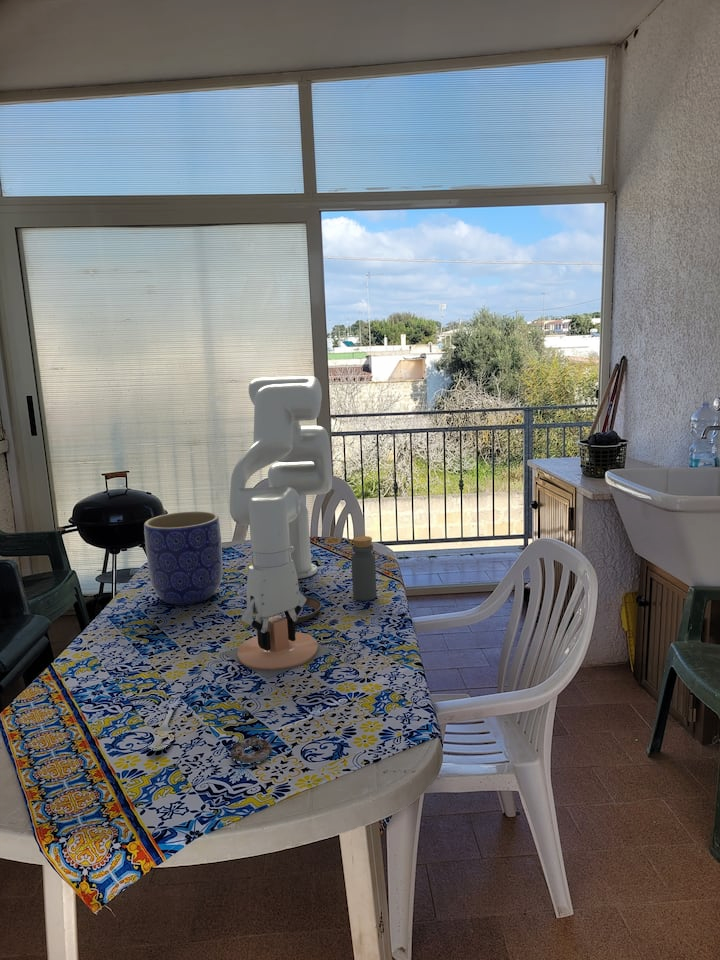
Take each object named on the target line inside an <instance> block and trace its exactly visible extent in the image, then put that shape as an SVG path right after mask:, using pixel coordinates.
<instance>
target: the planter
mask: <svg viewBox="0 0 720 960" xmlns="http://www.w3.org/2000/svg"><path fill="white" fill-rule="evenodd" d="M143 529H144V530H143V534H144V541H145V543H144V544H145V552H146V560H147V568H148V573H149V579H150V584H151V586H152V589H153V591H154V592H155V594H156V595H157V597H159V598H160V600H162V601H163V602H165V603H166V604H170V605H173V604H175V606H187V605H188V604H189V605H194V603H195V604H199V603H202V602H205V601H207V600H208V599H210V598H212V597H213V596H214V595H215V594H216V592H217V591H218V590H219V587H220V585H221V582H222V579H223V551H222V550H223V548H222V546H223V545H222V536H221V535H222V534H221V523H220V517H219V515H218V514H216V513H214V512H212V511H211V512H210V511H201V510H198V511H197V510H194V511H193V510H192V511H179V512H172V513H168V514H167V513H166V514H161V515H158V516H155V517H151V518H150V519H147V520H146V521H145V522H144V524H143Z"/></svg>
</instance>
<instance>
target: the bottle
mask: <svg viewBox="0 0 720 960" xmlns="http://www.w3.org/2000/svg"><path fill="white" fill-rule="evenodd" d="M372 540H373V538H372V536H367V535H359V536H356V537H353V538H352V542H353V545H352V548H351V549H352V551H353V552H354V553H353V554H352V555H351V556H350V557H351V562H350V563H351V577H352V580H351V581H352V595H353V596H352V597H353V599H354V600H357V601H362V602H367V601H372V600H375V599H376V598H377V596H378V595H377V575H376V574H377V570H376V569H377V568H376V556H375V554H374V553H373V552H372V551H373V550H374V545H373V543H372Z"/></svg>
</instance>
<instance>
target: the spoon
mask: <svg viewBox="0 0 720 960" xmlns="http://www.w3.org/2000/svg"><path fill="white" fill-rule="evenodd" d="M172 715H173V714H172V712H168V714H167V713H166V716H165V719H164V721H162V722H163V723H162V724H161V725H160V726H159V727H158V729H157V730H156V731H172V729H170V727H169V721H170V719H171V717H172ZM172 732H173V731H172ZM167 746H168V745H167ZM167 746H165V747H162V748H158V749H152V748H150V749H151V750H150V751H152V750H153V752H156V751H161V750H164V748H165V749H166V747H167ZM168 747H169V746H168ZM168 747H167V748H168Z"/></svg>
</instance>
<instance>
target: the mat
mask: <svg viewBox="0 0 720 960" xmlns="http://www.w3.org/2000/svg"><path fill="white" fill-rule="evenodd" d="M317 644H318V651H317V653H316V655H315V656H314V657H313V658H312V659H310V660H309V661H307V662H305V663H303V664H301V665H304V664H306V663H309V662H311V661H314V660H316V659H318V658H320V657H323V656H325V655H327V654H330V653H332V652H335V650H333V649H331V648H329V647H327V646H325V645H322V644H321V643H318V642H317ZM239 647H240V646H237V647H235V648H232V649H230V650H227V651H224V652H222V654H223V655H225V656H226V657H229V658H231V659H232V660H234V661H235V662H237V663H239V664H241V665H242V666H244V667H246V668H248V669H250V670H251V671H253V672H255V673H257V674H258V675H259V676H262V677H264V678H265V679H267V680H269V679H272V678H273V677H275V676H279V675H281V674H283V673H285V672H287V671H289V670H293V669H295V668H297V667H300V666H301V665H298V666H295V667H291V668H287V669H280V670H259V669H253V668H250V667H247V666H245V665H243V664H242V663H241V662H240V661H239V659H238V648H239Z"/></svg>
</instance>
